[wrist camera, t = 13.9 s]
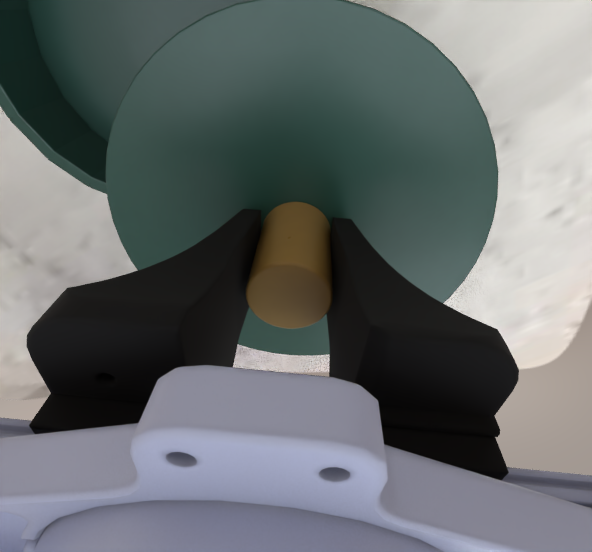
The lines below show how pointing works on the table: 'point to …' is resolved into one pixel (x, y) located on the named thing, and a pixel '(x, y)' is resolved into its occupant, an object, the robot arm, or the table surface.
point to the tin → (81, 69)
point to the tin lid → (303, 155)
